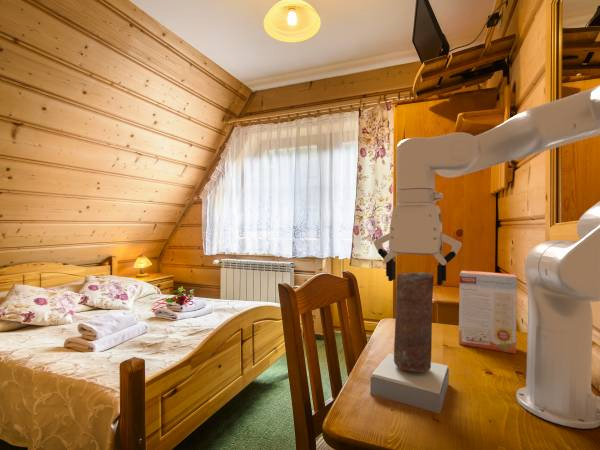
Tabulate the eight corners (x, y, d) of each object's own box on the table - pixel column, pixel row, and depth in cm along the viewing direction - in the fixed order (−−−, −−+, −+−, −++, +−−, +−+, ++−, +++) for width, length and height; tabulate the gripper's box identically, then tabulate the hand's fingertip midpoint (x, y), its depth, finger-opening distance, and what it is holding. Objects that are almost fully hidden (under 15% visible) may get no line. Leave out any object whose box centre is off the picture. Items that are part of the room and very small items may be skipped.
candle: (435, 379, 64) (437, 277, 64) (396, 376, 65) (398, 275, 65) (426, 363, 72) (428, 271, 71) (391, 360, 73) (393, 270, 73)
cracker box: (515, 348, 93) (516, 273, 93) (516, 355, 88) (518, 276, 87) (459, 338, 100) (461, 269, 100) (458, 344, 95) (459, 271, 95)
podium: (448, 384, 71) (448, 365, 71) (440, 413, 60) (440, 391, 60) (388, 369, 77) (388, 352, 77) (370, 393, 66) (370, 373, 66)
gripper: (463, 199, 67) (463, 283, 67) (379, 202, 76) (379, 276, 76) (459, 196, 61) (459, 289, 61) (368, 199, 69) (368, 281, 69)
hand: (415, 282), depth 68 cm, fingers open, 9 cm apart
